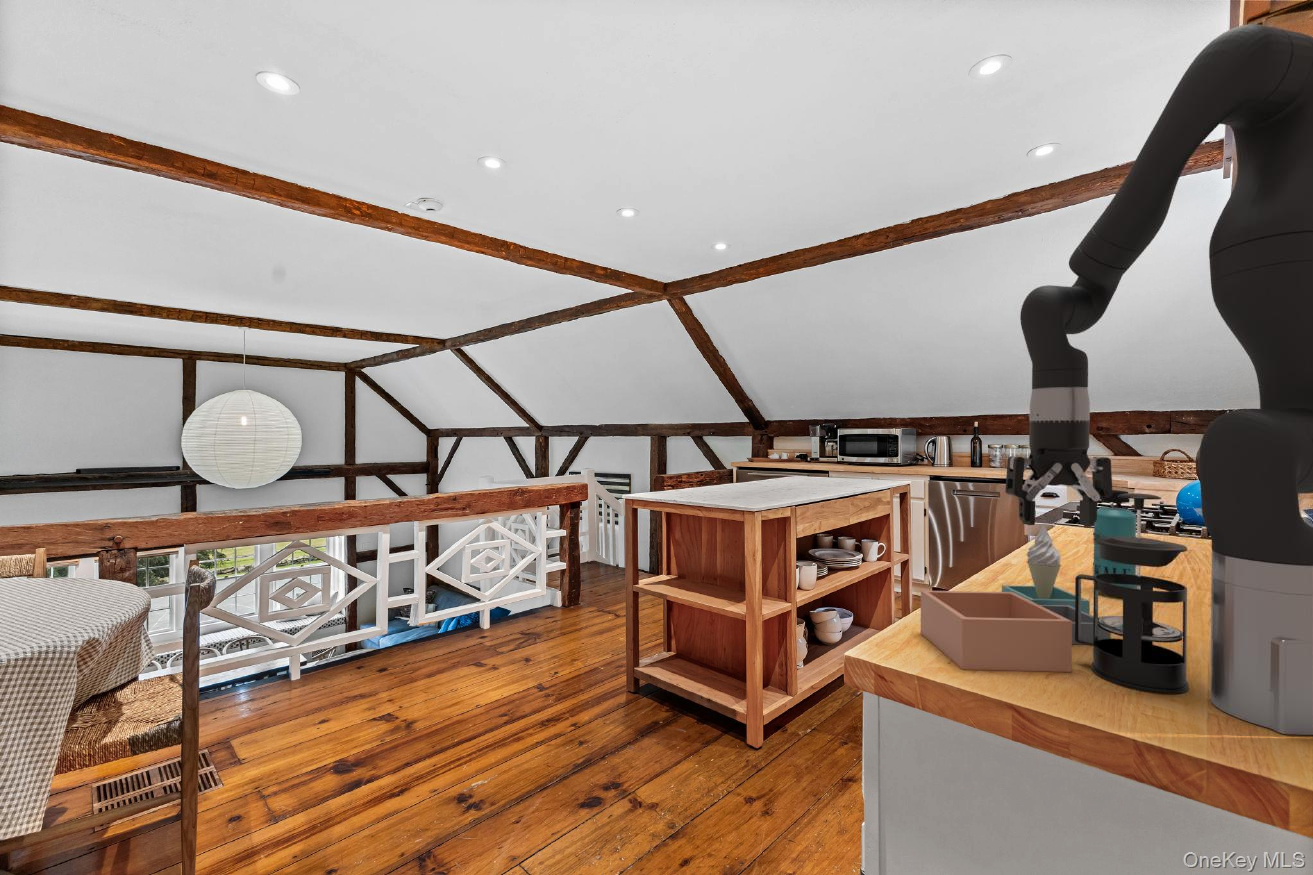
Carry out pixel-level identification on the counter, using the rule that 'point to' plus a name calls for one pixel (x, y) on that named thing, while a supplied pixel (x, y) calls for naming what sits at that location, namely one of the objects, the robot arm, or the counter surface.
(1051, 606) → the frame
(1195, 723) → the counter surface
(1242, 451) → the robot arm
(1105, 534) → the beverage bottle
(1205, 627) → the counter surface
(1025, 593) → the crate
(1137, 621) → the french press
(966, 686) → the counter surface
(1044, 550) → the ice cream cone
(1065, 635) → the bin
